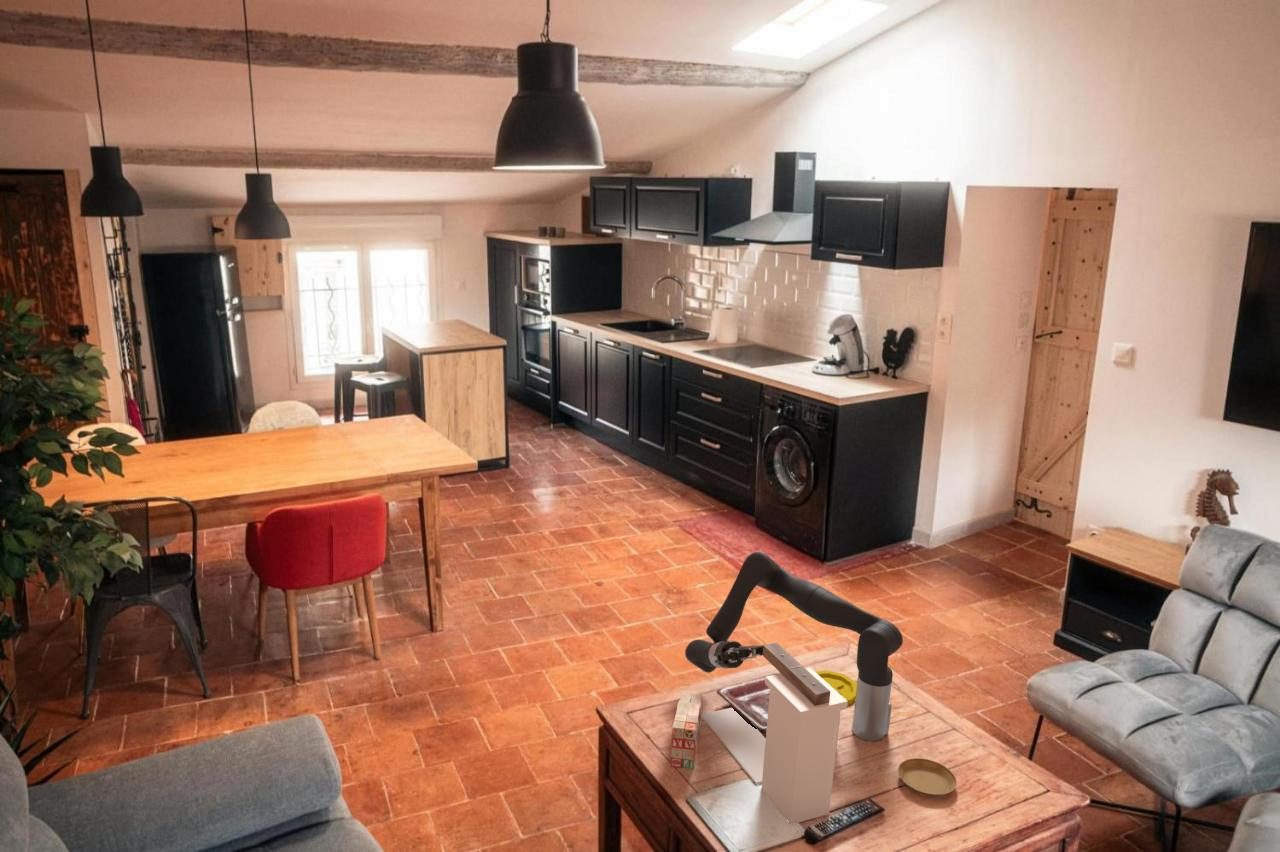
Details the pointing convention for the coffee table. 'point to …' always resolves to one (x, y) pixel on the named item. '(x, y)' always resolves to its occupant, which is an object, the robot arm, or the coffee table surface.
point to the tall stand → (800, 749)
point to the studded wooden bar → (796, 674)
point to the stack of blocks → (686, 731)
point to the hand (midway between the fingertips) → (752, 653)
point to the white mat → (739, 740)
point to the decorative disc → (840, 684)
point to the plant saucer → (927, 777)
